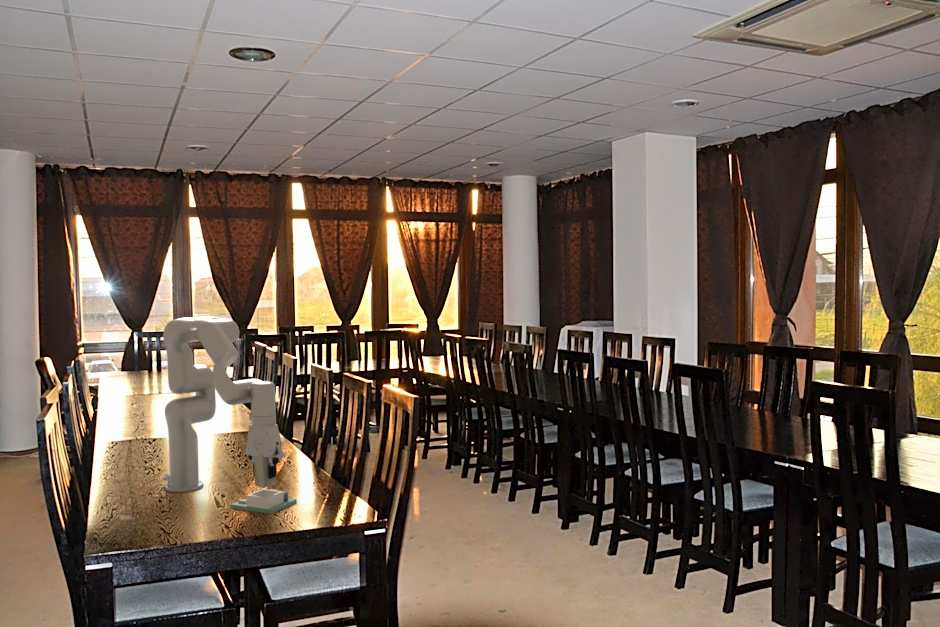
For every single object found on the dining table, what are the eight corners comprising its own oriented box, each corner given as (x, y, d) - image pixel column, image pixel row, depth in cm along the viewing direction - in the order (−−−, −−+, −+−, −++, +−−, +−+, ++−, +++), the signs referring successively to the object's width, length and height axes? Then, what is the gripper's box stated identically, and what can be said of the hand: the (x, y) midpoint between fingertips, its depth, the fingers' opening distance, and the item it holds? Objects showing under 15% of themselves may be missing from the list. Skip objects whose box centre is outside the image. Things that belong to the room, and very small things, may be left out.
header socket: (246, 506, 258) (246, 495, 257) (264, 498, 266) (263, 488, 265) (267, 509, 254) (267, 498, 254) (284, 501, 262) (284, 490, 262)
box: (267, 482, 263) (266, 448, 262) (275, 484, 260) (275, 450, 259) (254, 486, 258) (253, 451, 258) (262, 488, 256) (261, 453, 255)
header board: (230, 508, 260) (230, 496, 259) (256, 497, 271) (256, 486, 271) (272, 513, 253) (271, 502, 253) (296, 502, 265) (296, 491, 265)
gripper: (234, 420, 258) (235, 477, 259) (278, 424, 251) (279, 482, 252) (249, 416, 265) (250, 471, 266) (293, 420, 258) (294, 476, 259)
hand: (264, 476), depth 259 cm, fingers closed on box, 5 cm apart
